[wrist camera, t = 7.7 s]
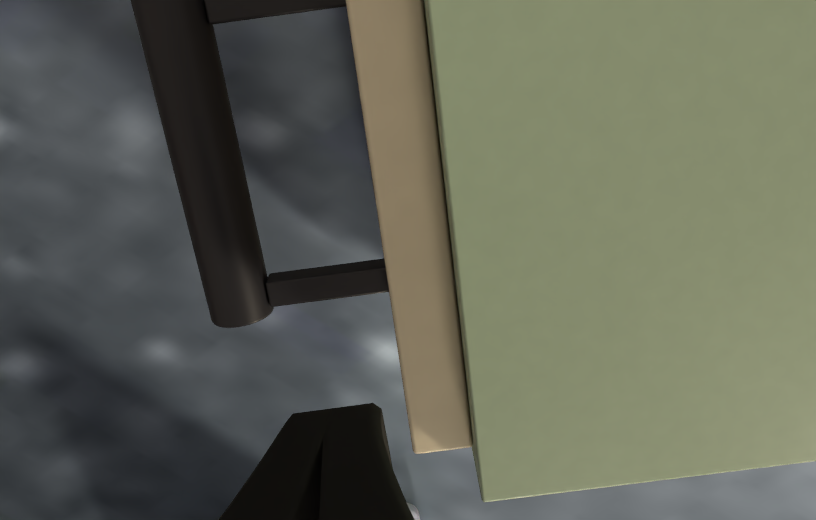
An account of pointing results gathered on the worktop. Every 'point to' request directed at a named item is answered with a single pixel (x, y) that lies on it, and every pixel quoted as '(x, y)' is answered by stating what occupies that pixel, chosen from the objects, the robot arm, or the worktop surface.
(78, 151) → the worktop surface
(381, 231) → the drawer
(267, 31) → the worktop surface
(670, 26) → the cabinet
